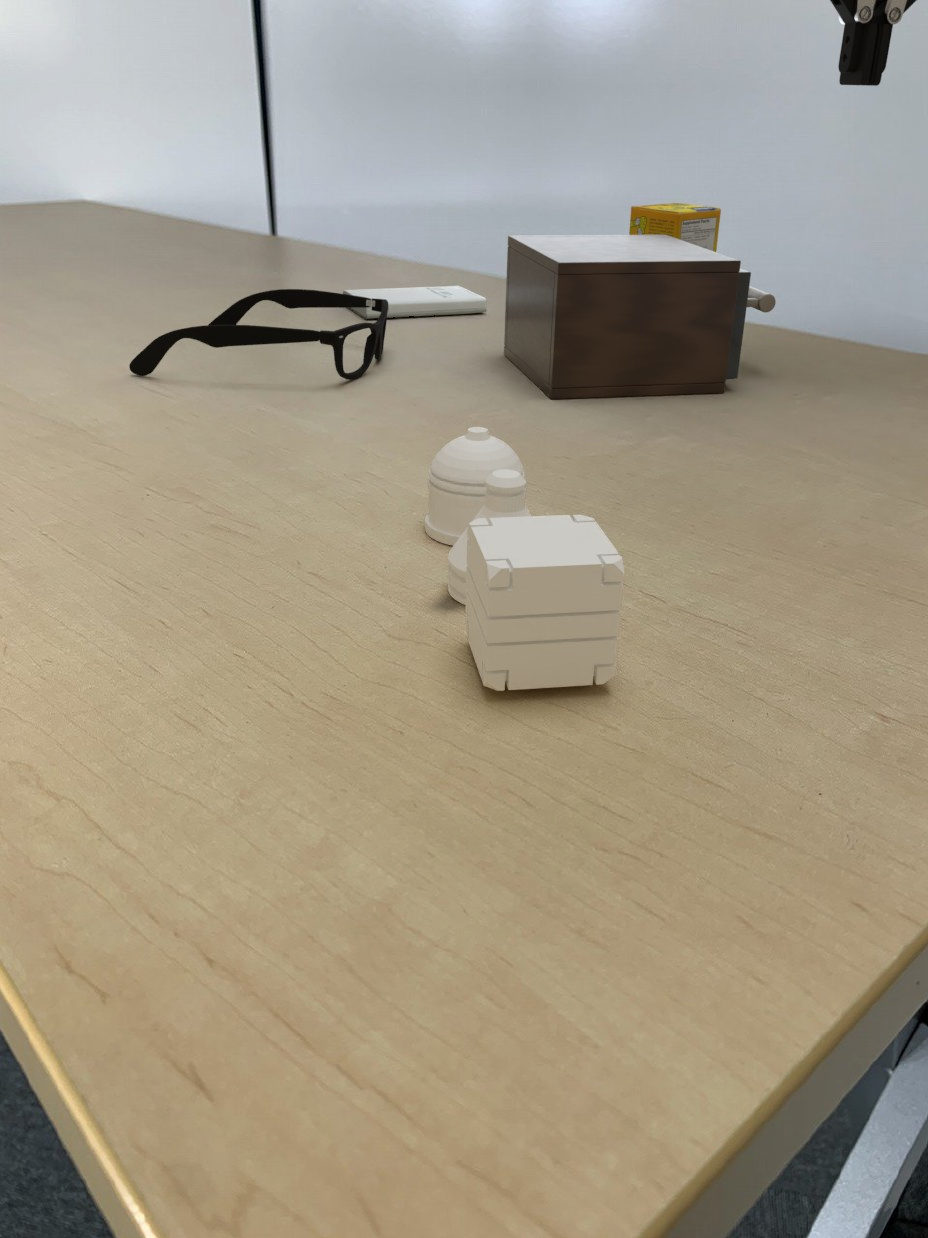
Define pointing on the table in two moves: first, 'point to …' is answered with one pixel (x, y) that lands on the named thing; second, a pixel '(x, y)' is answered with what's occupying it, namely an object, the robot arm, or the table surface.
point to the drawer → (744, 299)
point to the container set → (523, 572)
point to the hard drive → (422, 301)
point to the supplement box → (678, 222)
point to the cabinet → (619, 314)
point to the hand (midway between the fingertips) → (859, 84)
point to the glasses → (276, 329)
